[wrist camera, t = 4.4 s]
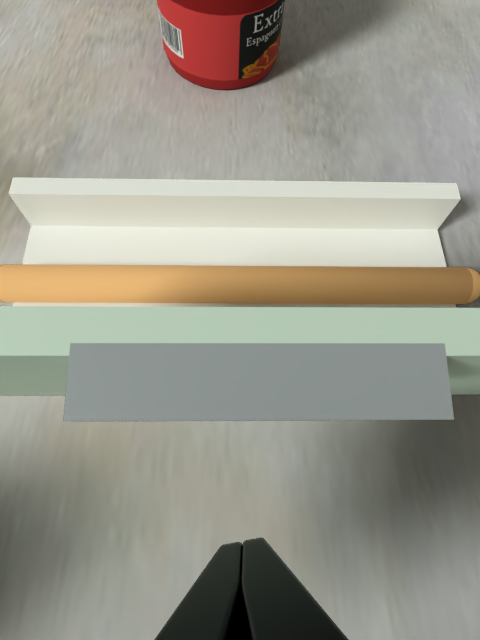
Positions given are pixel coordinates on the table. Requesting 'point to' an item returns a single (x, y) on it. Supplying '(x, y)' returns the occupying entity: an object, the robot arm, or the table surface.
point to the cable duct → (233, 226)
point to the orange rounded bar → (237, 284)
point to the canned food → (221, 39)
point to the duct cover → (242, 361)
